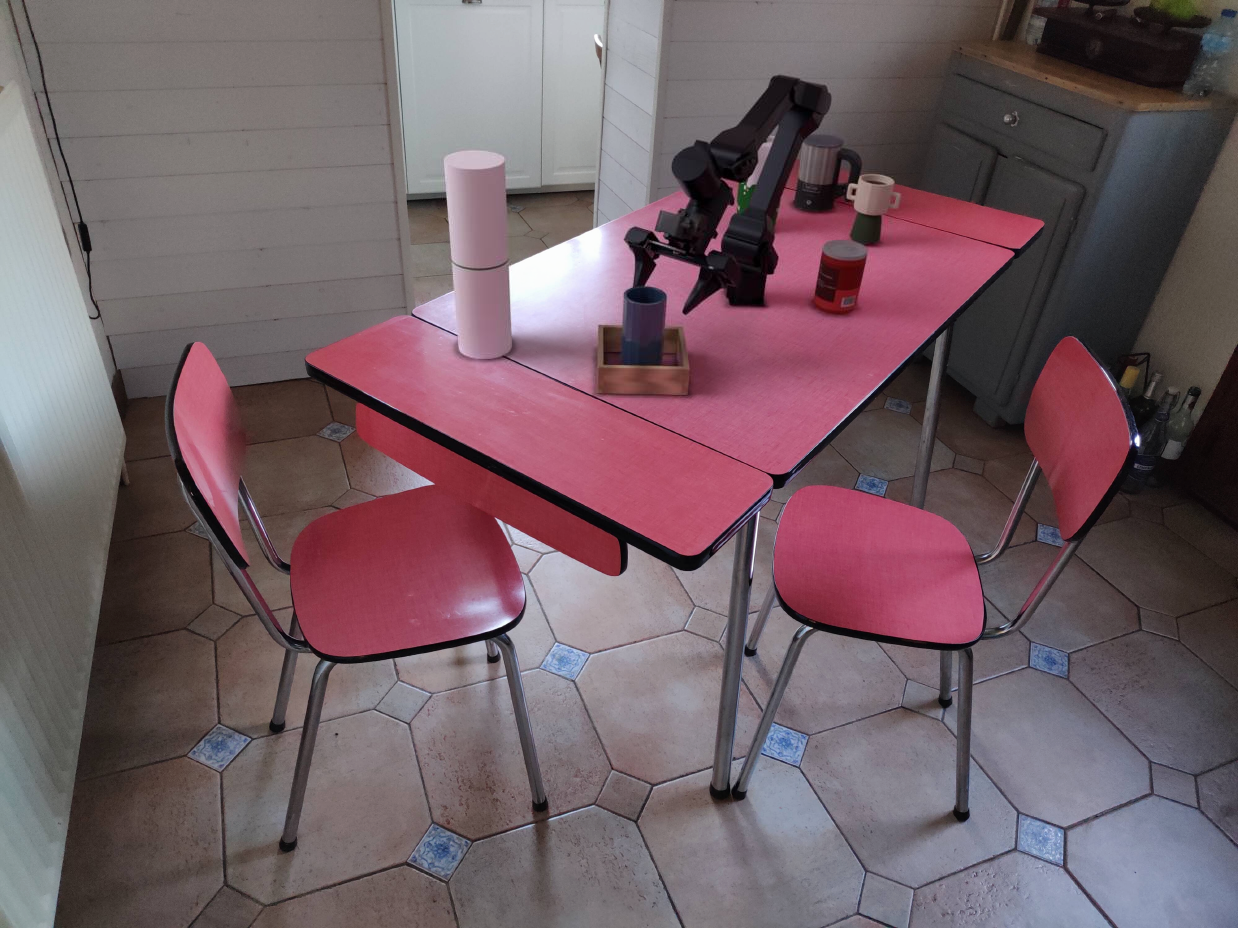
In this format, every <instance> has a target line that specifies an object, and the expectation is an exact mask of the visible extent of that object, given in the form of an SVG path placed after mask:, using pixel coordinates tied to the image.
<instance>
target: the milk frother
mask: <svg viewBox="0 0 1238 928" xmlns="http://www.w3.org/2000/svg"><path fill="white" fill-rule="evenodd" d="M843 145H845V140H844V139H843V138H841V137H839V136H836V135H831V134H823V133H812V134H810V135H809V136H808V137H807V138H805V139H804V141H803V143H802V146H801V152H800V153H801V154H800V160H799V161H800V162H799V168H798V175H797V182H796V189H795V193H794V199H793V201H792V205H793V206H794V207H795V208H796V209H798V210H801V211H805V212H811V213H825V212H829V211H832V210H833V209H834V207H835V205H834V202H835V201H836V200H838V199H840V198H842V197H843V201H844V202H845V203H851V202H852V201H853V200H849V199H847V191H848V186H849V184H857V185H858V181H859V178H860V176H861V173H862V168H863V161H862V157H861V156H860V155H859V153H858V152H857V151H855V150H853V149H849V148H845V147H843ZM843 161H846V162H848V163H849V165H850V171H849V173H848V174H849V175H848V179H847V182H839V178H840V172H841V166H842V162H843ZM856 191H857V189H853V190H852V195H853V196H856Z"/></svg>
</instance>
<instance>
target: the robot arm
mask: <svg viewBox="0 0 1238 928" xmlns="http://www.w3.org/2000/svg"><path fill="white" fill-rule="evenodd" d="M832 99H833V97H832V94H831V92H829V88H828V86H827V85H826V84H823V83H818V82H812V81H805V80H802V79H801V78H800V77H795V76H791V75H784V74H777V75H773V76H772V77H771V78H770V80H769V83H768V86H767V88H766V89H765V90H764V92H763V93H762V94H761V95H760V97H759V98H758V99H757V100H756V102H755V103H754V104H753V105H752V107H751V108H750V109H749V110H748V111H747V112H746V114H745V115H744V116H743V117H742V119H741V120H740V121H739V122H738V123H737V125H735V126H733V127H730V128H727V129H725V130H722V131H721V132H720V133H718V134H717V135H716V136H715V137H714V138H713V139H712V140H711V141H710V142H708V141H705V140H700V139H695V141H694V144H692V145H690V146H687V147H685V148H683V149H682V150H680V151H679V152H678V153H677V154H675V156H673V159H672V162H671V172H672V174H673V176H674V178H675V179H676V181H677V183H678V184H679V186H680V188H681V189H682V191H683V193H684V195H685V196H686V197H687V198H689V200H688V202H687V204H686V206H685V208H679V209H678V211H677V212H676V213H673V212H669V211H667V210H664V209H663V210H662V209H660V210H659V213H658V217H657V221H656V224H655V227H654V230H649V229H645V228H643V227H639V226H632V227H630V228H629V229H628V230H627V231H626V233H625V236H624V238H623V241H624V242H625V244H626V245H627V247H628V249H629V250H630V251H631V252H632V254H633V256H634V273H633V281H632V287H637V286H646V284H647V283H648V281H649V279H650V277H651V276H652V274H653V273H654V271H655V269H656V267H657V266H658V264H657V263H656V262H655V261H656V260H658V259H659V258H660V257H661V256H663V257H667V258H669V259H673V260H676V261H679V262H682V263H685V264H688V265H692V266H694V267H699V273H698V277H697V279H696V282H695V284H694V285H693V287H692V290H691V291H690V293H689V295H688V297H687V299H686V300H685V302H684V305H683V308H682V310H681V313H682V314H683V315H685V316H687V315H688V314H689V313H691V312H692V311H694V309H696V308H697V307H698V306H699V305H701V304H702V303H703V302H704V301H705V300H707V299H708V298H710V297H712V295H714V294H715V293H717V292H718V291H720V290H722V289H723V292H724V296H725V298H726V299H727V302H728V305H729V306H738V307H739V306H740V307H745V306H746V307H765V306H766V299H765V291H766V286H767V278H768V276H771V275H774V274H775V270H776V269H777V266H778V265H779V264H778V263H779V259H780V256H779V255H778V253H777V250H776V249H775V247H774V242H775V239H776V235H775V227H774V228H773V222H772V219H773V216H774V214H775V211H776V209H777V206H778V204H779V201H780V199H782V196H783V194H784V191H785V189H786V187H787V184H788V181H789V179H790V176H791V173H792V171H793V169H794V166H795V164H796V161H797V159H798V156H799V153H800V152H801V149H802V146H803V141H804V139H805V138H807V137H808V136H809V135H811V134H814V132H815V131H817V130H818V129H819V128H820V126H821V124H822V122H823V120H824V118H825V116H826V115H827V114H828V113H829V111H830V108H831V105H832ZM776 128H777V131H776V133H775V135H774V136H775V138H774V140H773V143H772V146H771V148H770V151H769V153H768V156H767V158H766V161H765V163H764V166H763V168H762V171H761V174H760V176H759V179H758V181H757V184H756V186H755V189H754V191H753V194H752V196H751V199H750V201H749V204H748V206H747V208H746V209H745V210H744V211H743V212H742V213H740V214H737V212H734V213H733V214H732V216H731V217H730V219H729V223H728V226H727V228H726V230H725V232H724V234H723V235H722V237H721V241H720V251H719V250H717V249H711V250H710V251H708V254H707V255H706V251H707V250H708V247H709V245H710V242H711V241H712V240H716V239H717V238H718V235H719V232H718V231H717V228H718V227H719V225H720V222H721V221H722V218H723V216H724V214H725V212H726V211H727V208H728V206H731V207H733V206H735V196H734V192H733V191H734V187H731V186H729V184H728V183H727V182H726V181H731V182H734V183H737V184H739V183H744V182H745V181H747V180H748V178H749V177H750V176H751V175H752V174H753V172H754V170H755V168H756V166H757V164H758V150H759V149H760V147H761V146H762V144H763V143H764V142H765V140H766V139H767V138H768V137H769V135H770V136H771V135H772V133H773V132H774V131H775V129H776ZM725 180H726V181H725ZM780 202H781V201H780ZM654 232H656V233H663V234H662V237H663V238H664V240H666V241H668V242H663V241H660V239H659V238H658V236H657V235H656V234H655V233H654Z"/></svg>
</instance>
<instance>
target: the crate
mask: <svg viewBox="0 0 1238 928" xmlns="http://www.w3.org/2000/svg"><path fill="white" fill-rule="evenodd" d="M621 342H622V324H598V325H597V368H596V369H597V371H596V373H597V375H596V377H597V379H596V380H597V383H596V384H597V385H596V386H597V388H596V389H597V391H596V393H597V394H615V395H618V394H619V395H620V394H623V395H664V396H665V395H667V396H671V395H672V396H688V395H689V394H688V393H689V383H690V372H691V368H690V367H691V366H690V362H689V356H688V350H687V343H686V337H685V331H684V326H671V325H669V326H667V325H665V331H664V345H663V354H676V361H677V366H676V365H675V366H674V365H673V366H671V365H669V366H668V365H662V366H631V365H621V364H620V365H619V364H604V353H621Z"/></svg>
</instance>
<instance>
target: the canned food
mask: <svg viewBox="0 0 1238 928" xmlns="http://www.w3.org/2000/svg"><path fill="white" fill-rule="evenodd" d="M868 253H869V250H868V248H867V246H865V244H862V243H858V242H856V241H854V240H848V239H834V240H829V241H826V242H825V243H824V244H823V246H822V250H821V255H820V260H819V267H818V272H817V278H816V284H815V290H814V296H813V304H814V307H815V309H817V310H819V311H821V312H823V313H826V314H829V315H838V316H839V315H840V316H841V315H847V314H850V313H852V312H854V311H855V308H856V307H857V305H858V300H859V296H860V292H861V291H860V290H861V286H862V282H863V277H864V272H865V268H866V263H867V259H868Z"/></svg>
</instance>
